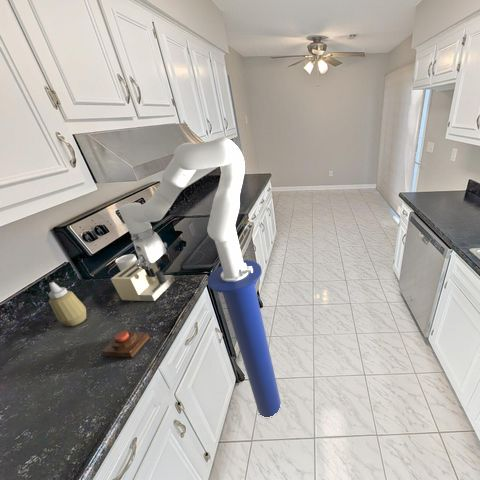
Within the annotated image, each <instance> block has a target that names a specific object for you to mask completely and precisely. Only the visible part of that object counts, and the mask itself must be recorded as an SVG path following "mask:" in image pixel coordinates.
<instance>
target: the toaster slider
mask: <svg viewBox="0 0 480 480" xmlns="http://www.w3.org/2000/svg"><path fill="white" fill-rule="evenodd" d="M155 274H156V277H157V279H158V281H159V283H160V284H161V283H164V282H165V281H166V280H165V277H164V275H165V274H164V273H163V271H162V270H159V271H157V272H156V273H155Z"/></svg>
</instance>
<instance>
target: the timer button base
mask: <svg viewBox="0 0 480 480" xmlns="http://www.w3.org/2000/svg"><path fill="white" fill-rule="evenodd" d="M126 331H128V333H129V335H130V337H129V338H128V339H127V340H126V341H124V342H121V343H117V342H116V340H115V338H114V337H113V338H112V339H111V340H110V342H109V343H108V344H107V345H106V346H105V347H104V348H103V349H102V350H101V351H100V352H101V353H102V355H103V356H104V357H118V358H133V357H134V356H135V355H136V354H137V353H138V352H139V350H140V349H141V348H142V347H143V346H144V345H145V344H146V342H147V341H149V339H150V338H151V336H150V334H149V332H141V331H140V332H138V331H134V330H133V329H127V330H126Z"/></svg>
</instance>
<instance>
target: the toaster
mask: <svg viewBox="0 0 480 480" xmlns="http://www.w3.org/2000/svg"><path fill="white" fill-rule="evenodd" d="M137 261H138V259H137V260H136V261H135V262H133V263H132V264H130V265H129V266H128V267H126V268H125V269H123V270H122V271H120V272H118V273H116V274H114V276H113V277H110V281H111V282H112V284H113V287H114V288H115V290H116V292H117V293H118V296H119V297H120V299H121V301H136V302H137V301H139V302H141V301H143V302H155V301H156V300H157V299H158V298H159V297H160V296H161V295H162V294H164V292H165V291H167V289H168V288H170V286H171V285H172V284H174V282H175V281H176V279H175V277H174V275H173V274H163V275H164V277H165V280H166V281H165V282H164V283H161V284H160V283H159V281H158V279H157V277H156V276H155V277H148V275H147V274H146V272H145V270H143V269H140V268H138V267H137V266H136V263H137ZM156 262H157V261H155V262H154V263H151V268H153V270H154V272H155V273H156V272H157V271H160V269H159V267H158V265H157V263H156ZM142 265H143V263H142ZM147 265H148V263H146V266H147Z"/></svg>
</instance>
